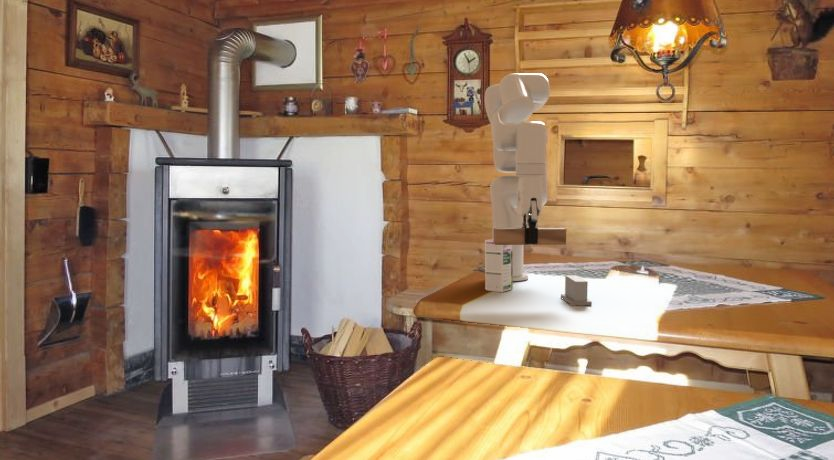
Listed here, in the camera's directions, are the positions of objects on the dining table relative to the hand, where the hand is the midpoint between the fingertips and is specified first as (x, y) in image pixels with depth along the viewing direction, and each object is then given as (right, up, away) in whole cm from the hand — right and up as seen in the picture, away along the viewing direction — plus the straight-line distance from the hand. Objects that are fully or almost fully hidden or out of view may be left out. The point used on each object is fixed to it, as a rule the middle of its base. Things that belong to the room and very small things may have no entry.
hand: (529, 242), depth 181 cm
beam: (0, 0, 0) cm, 0 cm away
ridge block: (+12, -15, 0) cm, 19 cm away
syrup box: (-6, -14, +18) cm, 23 cm away
